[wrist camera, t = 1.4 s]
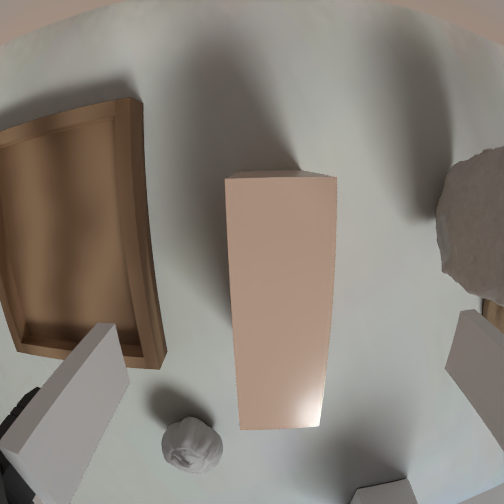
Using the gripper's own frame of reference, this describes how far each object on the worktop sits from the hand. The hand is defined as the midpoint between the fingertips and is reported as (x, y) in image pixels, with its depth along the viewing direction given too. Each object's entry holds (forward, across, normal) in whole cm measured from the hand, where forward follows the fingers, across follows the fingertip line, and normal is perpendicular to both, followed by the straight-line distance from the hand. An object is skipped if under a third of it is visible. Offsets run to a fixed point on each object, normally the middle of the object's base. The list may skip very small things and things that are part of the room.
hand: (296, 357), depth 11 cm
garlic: (+11, -8, -16) cm, 21 cm away
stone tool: (+11, +12, +4) cm, 17 cm away
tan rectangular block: (+11, 0, 0) cm, 11 cm away
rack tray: (+11, -16, +2) cm, 19 cm away
